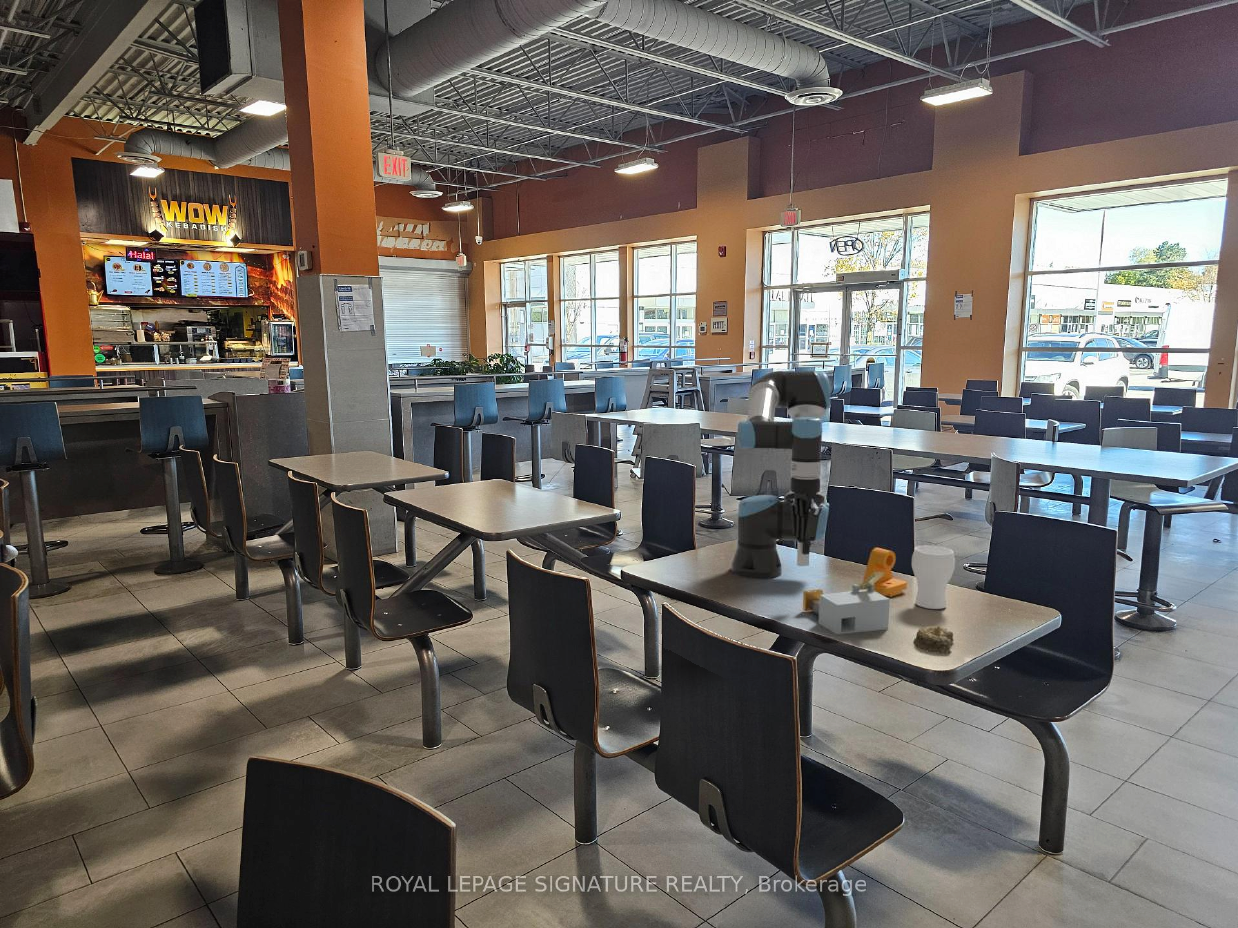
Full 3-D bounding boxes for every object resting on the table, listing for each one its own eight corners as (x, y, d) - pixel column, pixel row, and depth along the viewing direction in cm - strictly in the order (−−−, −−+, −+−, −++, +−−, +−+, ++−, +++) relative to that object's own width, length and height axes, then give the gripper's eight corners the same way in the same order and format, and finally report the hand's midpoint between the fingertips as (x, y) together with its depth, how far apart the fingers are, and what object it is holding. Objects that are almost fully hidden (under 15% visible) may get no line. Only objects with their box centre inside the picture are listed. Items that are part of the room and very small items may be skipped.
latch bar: (857, 590, 196) (855, 585, 196) (868, 589, 197) (867, 584, 197) (874, 576, 189) (872, 571, 189) (885, 575, 190) (883, 570, 190)
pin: (802, 609, 204) (803, 591, 203) (819, 607, 205) (820, 589, 204) (828, 625, 192) (828, 606, 191) (846, 623, 194) (846, 604, 193)
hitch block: (818, 625, 195) (819, 587, 194) (868, 619, 199) (870, 582, 198) (836, 637, 188) (837, 597, 186) (888, 630, 192) (889, 591, 190)
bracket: (884, 598, 215) (886, 556, 213) (862, 592, 221) (863, 550, 219) (907, 591, 221) (909, 550, 219) (885, 584, 227) (887, 544, 225)
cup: (909, 608, 207) (912, 553, 205) (909, 596, 217) (912, 543, 214) (953, 613, 203) (956, 556, 201) (951, 600, 213) (954, 546, 211)
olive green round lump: (912, 653, 178) (914, 630, 178) (913, 637, 188) (914, 615, 187) (960, 658, 175) (962, 635, 174) (958, 642, 184) (959, 620, 183)
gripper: (780, 473, 209) (778, 560, 212) (805, 481, 197) (802, 573, 200) (805, 472, 211) (803, 557, 214) (831, 480, 199) (828, 570, 202)
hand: (802, 565), depth 207 cm, fingers closed
